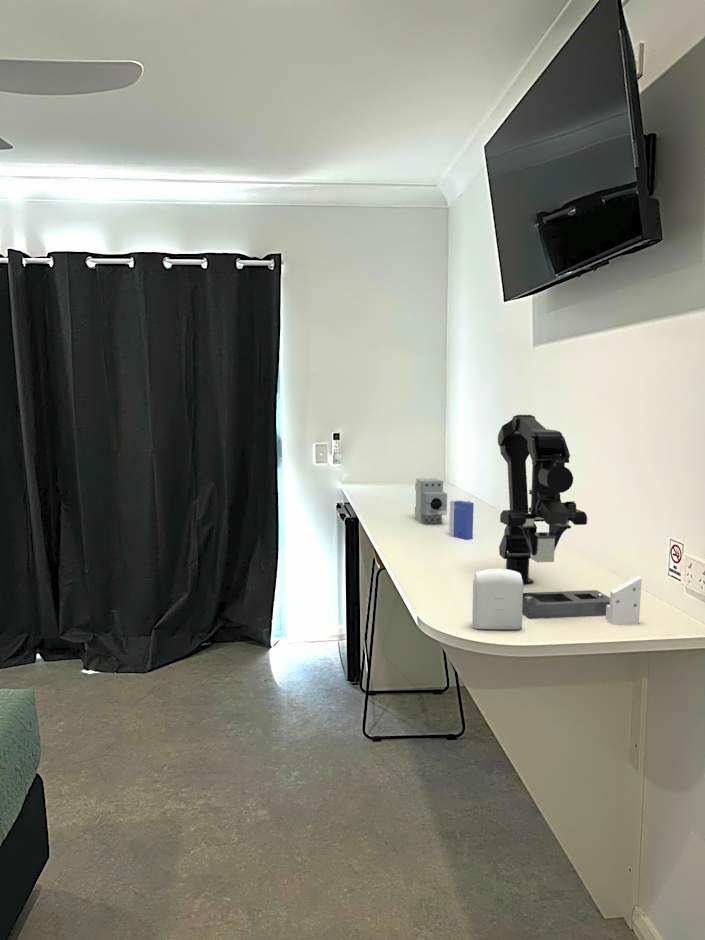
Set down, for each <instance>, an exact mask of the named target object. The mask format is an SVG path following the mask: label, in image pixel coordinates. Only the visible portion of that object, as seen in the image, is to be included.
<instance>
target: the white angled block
mask: <svg viewBox="0 0 705 940" xmlns="http://www.w3.org/2000/svg"><path fill="white" fill-rule="evenodd" d="M642 580H643V579H642V577H641V576H639V575H637V576H636V577H633V578H632V579H629V580H628V581H626V582H625V583H623V584H621V585H619V586H617V587H616V588H613V589H612V590H610V595H609V598H610V605H606V615H605V620H606V619H607V622H609V623H610V624H611V625H640V615H641V614H640V613H641V595H642Z"/></svg>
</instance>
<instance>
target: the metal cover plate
mask: <svg viewBox="0 0 705 940" xmlns="http://www.w3.org/2000/svg"><path fill="white" fill-rule="evenodd" d="M606 605H610V596H607V595H606V594H604V593H603V592H601V591H599V590H597V589H589V590H565V591H563V590H562V591H541V592H538V591H537V592H523V607H522V615H524V616H525V617H526V618H527V619H531V620H532V619H549V618H550V619H551V618H552V619H553V618H555V619H556V618H570V617H571V618H574V617H575V618H576V617H577V618H578V617H594V616H595V617H597V616H598V617H599V616H606Z"/></svg>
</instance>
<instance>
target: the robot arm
mask: <svg viewBox="0 0 705 940" xmlns="http://www.w3.org/2000/svg"><path fill="white" fill-rule="evenodd" d="M497 444H498V446H499V449H500V455H501V456H502V458H503V459H504V461H505V462H506V464H507V479H508V481H507V482H508V499H509V509H503V510H502V511H501V513H500V518H499V523H502V524H503V525H505V529H504V533H503V536H502V539H501V541H500V544H499V546H498V548H499V549H498V550H499V553H498V554H499V556H500V557H501V558H502V559H503V560H506V561H505V569H508V570H513V571H516V572H519V573H520V574H521V576H522V580H523V584H534V580H533V579H531V578H530V576H529V575H530V552H531V554H532V555H535V532H537V529H538V526H537V525H536V523H535V522H544V523H545V524H547V525H548V532H549V533H551V534H553V535H555V536H556V539H555V548H554V552H555V551H556V548H557V546H558V543H559V541H560V539H561V537H562V535H563V534H564V532H565V531H567V530H568V529H571V528H572V525H569V524H570V522H571V523H572V524H573V525H574V526H578V525H579V526H584V525H587V524H588V515H587V513H586V512H585V511H582V510H580V509H577V503H576V502H575V501H572V500H571V501H564V502H562V501H561V500H562V499H561V493H566V492H567V491H568V490H569V489H571V487H572V485H573V483H574V475H573V473H572V471H571V470H570V469H569V468H568V467H566V465H565V464H569V463H570V457H571V453H570V450H569V447H568V445H567V442H566V439H565V437H564V436H563V434H562V432H561V431H560V430H555V429H548V428H545V427H544V426H543V424H541V423H540V422H539V421H538V420H537V419H536V417H535V416H534V415H533V414H516V415H513V416H512V419H511V420H509V421H508V422H507V423H505V424H503V425H502V426H501V427H500V430H499V432H498V435H497ZM529 456H530V458H531V459H530V460H531V465H532V468H531V470H532V471H531V489H529V493H528V480H527V478H528V477H527V464H526V463H527V459H528V457H529ZM528 494H529V495H530V498H531V499H530V507H529V497H528V496H529V495H528Z"/></svg>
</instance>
